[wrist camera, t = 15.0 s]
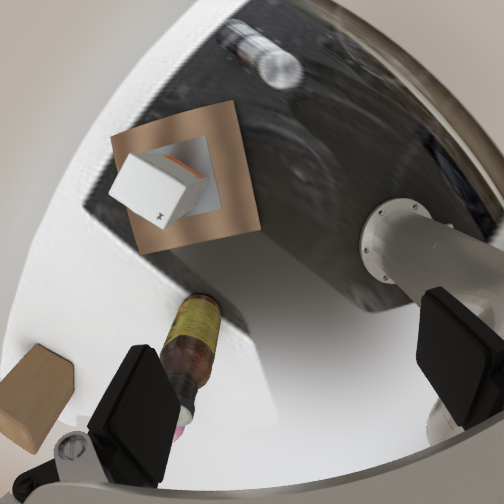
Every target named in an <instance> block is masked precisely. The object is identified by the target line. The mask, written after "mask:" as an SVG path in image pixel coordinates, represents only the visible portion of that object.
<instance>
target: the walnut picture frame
mask: <svg viewBox="0 0 504 504" xmlns="http://www.w3.org/2000/svg"><path fill="white" fill-rule="evenodd" d="M110 138H111V143H112V148H113V153H114V158H115V162H116V167H117V171H118V173H119V171H120V169H121V168H122V166H123V164H124V162H125V160H126V158H127V157H128V155H129V153H145V154H164V155H171V156H172V157H174V158H176V159H177V160H179V161H180V162H182V163H183V164H185V165H187V166H188V167H190V168H192V169H193V170H195V171H197V172H198V173H200V174H202V175H203V176H205V177H207V178H209V182H208V183H207V185H206V186H205V188H204V190H203V191H202V193H201V195H200V197H199V198H198V200H197V201H196V203H195V205H194V206H193V208H192V209H191V210H189V211H188V212H186V213H185V214H184V215H182V216H181V217H180V218H178V219H177V220H176V221H174V222H173V223H172V224H171V225H169V226H168V227H167V228H165V229H164V230H163V229H161V228H159V227H158V226H156V225H155V224H153V223H151V222H150V221H148V220H147V219H145V218H143V217H142V216H140V215H138V214H136V213H135V212H133V211H132V210H130V209H129V208H128V207H127V206H126V208H127V212H128V215H129V219H130V223H131V226H132V230H133V233H134V237H135V240H136V243H137V247H138V250H139V253H140V255H144V254H148V253H153V252H157V251H162V250H167V249H171V248H176V247H180V246H185V245H190V244H194V243H199V242H204V241H209V240H214V239H218V238H223V237H228V236H233V235H238V234H242V233H248V232H253V231H258V230H261V224H260V219H259V214H258V210H257V205H256V200H255V195H254V191H253V186H252V181H251V177H250V172H249V167H248V163H247V158H246V153H245V149H244V144H243V140H242V135H241V131H240V126H239V121H238V117H237V112H236V108H235V104H234V101H233V100H230V101H226V102H221V103H217V104H213V105H209V106H205V107H201V108H197V109H193V110H190V111H186V112H183V113H179V114H176V115H172V116H169V117H166V118H163V119H159V120H156V121H153V122H150V123H147V124H144V125H141V126H138V127H135V128H133V129H130V130H127V131H124V132H122V133H119V134H116V135H114V136H111V137H110Z"/></svg>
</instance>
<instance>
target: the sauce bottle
mask: <svg viewBox="0 0 504 504" xmlns="http://www.w3.org/2000/svg"><path fill="white" fill-rule="evenodd" d="M220 318H221V310H220V307H219V306H218V304H217V303H216V302H215V301H214V300H213V299H212V298H210V297H209V296H206V295H202V294H201V295H199V294H197V295H192V296H190V297H188V298H187V299H185V301H184V302H183V304H182V305H181V306H180V308H179V310H178V312H177V315H176V317H175V319H174V322H173V324H172V326H171V329H170V331H169V333H168V336H167V338H166V341H165V343H164V346H163V348H162V351H161V353H160V361H161V364H162V366H163V368H164V370H165V372H166V374H167V376H168V378H169V381H170V383H171V385H172V387H173V389H174V391H175V393H176V395H177V397H178V399H179V401H180V404H181V411H180V415H179V419H178V422H177V427H181V426H186V425H188V424H190V423H191V421H192V420H193V416H194V412H195V406H194V401H195V396H196V394H197V392H198V389H199V388H201V387H202V386H204V385H205V384H206V383H207V381H208V379H209V378H210V375H211V371H212V364H213V362H214V358H215V352H216V346H217V341H218V335H219V329H220V323H221V319H220Z"/></svg>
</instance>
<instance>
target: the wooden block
mask: <svg viewBox="0 0 504 504" xmlns="http://www.w3.org/2000/svg"><path fill="white" fill-rule="evenodd" d="M73 393H74V386H73V365H72V364H71V363H70V362H68V361H67V360H65V359H63V358H61V357H59V356H57V355H56V354H54V353H52V352H50V351H49V350H47V349H45V348H44V347H42V346H40V345H35V346H34V347H33V348H32V349H31V350H30V351H29V352H28V353H27V354H26V355H25V356H24V357H23V358H22V359H21V360H20V361H19V362H18V364H17V365H16V366H15V367H14V368H13V369H12V370H11V371H10V372H9V373H8V374H7V376H6V377H5V378H4V379H3V380H2V381H1V382H0V432H1V433H2V434H3V435H5V436H6V437H7V438H9V439H10V440H12V441H13V442H14V443H16V444H17V445H19V446H20V447H22V448H23V449H25V450H26V451H28V452H29V453H31V454H34V455H35V454H36V453H37V452H38V450H39V448H40V447H41V445H42V443H43V441H44V440H45V438H46V436H47V435H48V433H49V431H50V430H51V428H52V427H53V425H54V423H55V422H56V420H57V418H58V417H59V415H60V414H61V412H62V410H63V409H64V407H65V406H66V404H67V403H68V401H69V400H70V398H71V396H72V395H73Z"/></svg>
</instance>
